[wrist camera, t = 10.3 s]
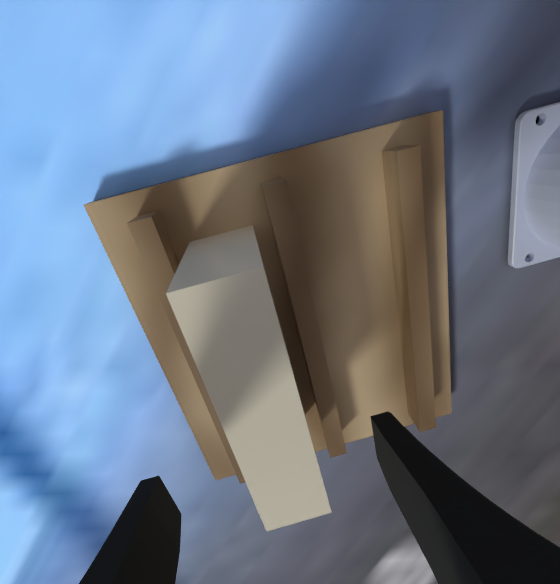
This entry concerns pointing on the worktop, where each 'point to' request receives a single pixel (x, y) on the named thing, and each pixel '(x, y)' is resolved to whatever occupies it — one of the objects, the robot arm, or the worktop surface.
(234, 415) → the cream rectangular block
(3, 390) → the worktop surface
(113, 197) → the ridged tan board
